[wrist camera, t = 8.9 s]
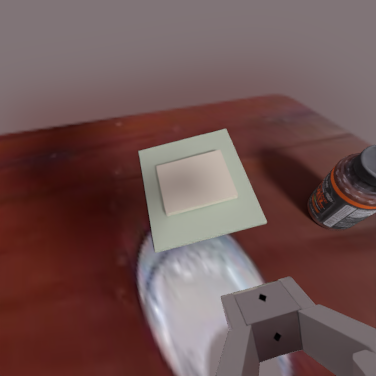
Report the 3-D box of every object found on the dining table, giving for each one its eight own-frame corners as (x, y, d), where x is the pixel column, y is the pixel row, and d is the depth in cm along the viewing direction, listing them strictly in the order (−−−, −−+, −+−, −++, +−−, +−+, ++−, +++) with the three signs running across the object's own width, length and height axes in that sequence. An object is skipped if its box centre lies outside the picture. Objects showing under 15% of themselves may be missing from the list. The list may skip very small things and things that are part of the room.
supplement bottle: (302, 189, 31) (343, 133, 22) (349, 191, 31) (413, 134, 21) (308, 230, 29) (357, 188, 19) (359, 234, 28) (439, 192, 18)
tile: (166, 213, 30) (156, 166, 34) (167, 217, 31) (157, 170, 35) (238, 194, 30) (220, 149, 34) (237, 198, 31) (220, 154, 35)
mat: (155, 252, 29) (155, 252, 29) (139, 152, 38) (138, 151, 37) (266, 223, 30) (267, 222, 29) (225, 130, 38) (225, 128, 37)
